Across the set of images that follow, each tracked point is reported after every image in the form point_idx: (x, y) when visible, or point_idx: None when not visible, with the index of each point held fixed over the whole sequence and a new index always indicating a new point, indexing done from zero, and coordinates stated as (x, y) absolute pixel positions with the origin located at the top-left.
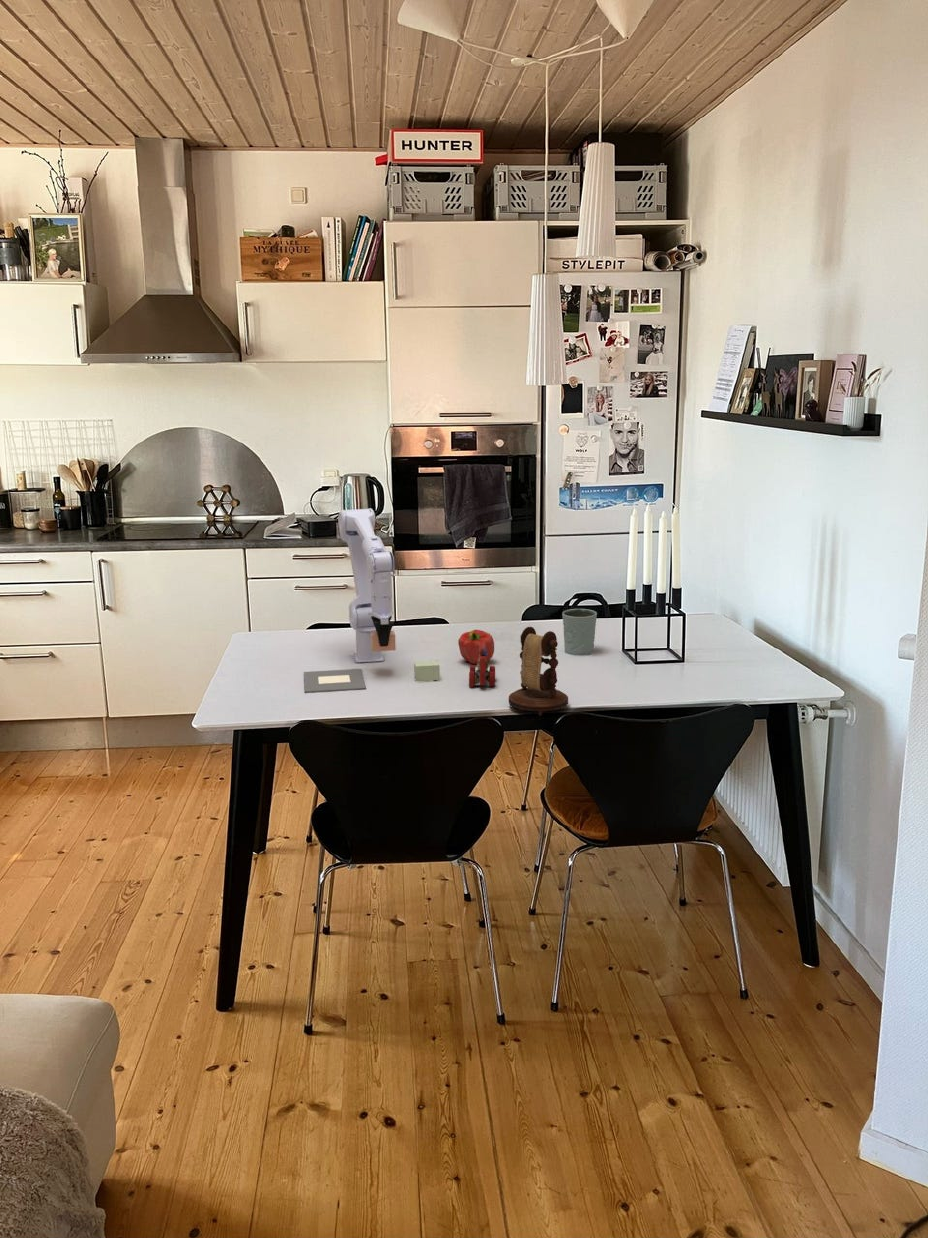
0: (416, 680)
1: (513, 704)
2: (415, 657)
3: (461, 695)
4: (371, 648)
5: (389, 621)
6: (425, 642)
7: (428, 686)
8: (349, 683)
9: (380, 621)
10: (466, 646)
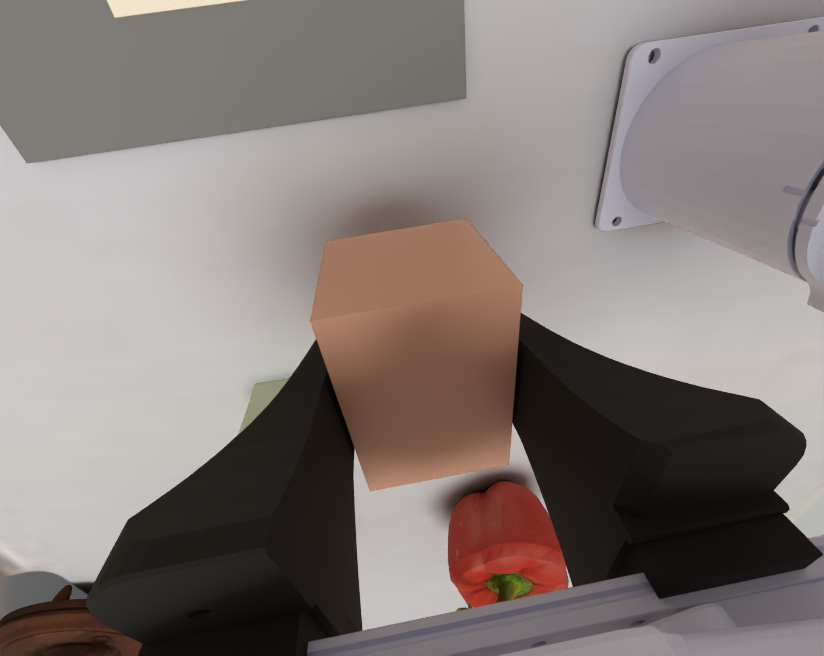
0: (254, 389)
1: (10, 617)
2: (605, 351)
3: (129, 505)
4: (423, 225)
5: (559, 534)
6: (781, 365)
7: (203, 424)
8: (76, 11)
9: (196, 654)
10: (465, 553)
